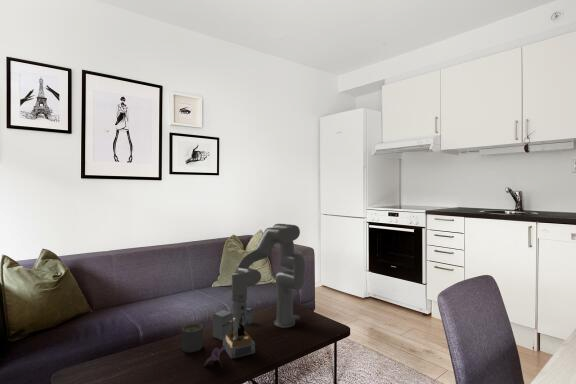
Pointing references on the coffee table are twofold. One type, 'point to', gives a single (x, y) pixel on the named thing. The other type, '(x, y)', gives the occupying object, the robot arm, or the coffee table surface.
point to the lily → (215, 355)
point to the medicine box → (249, 316)
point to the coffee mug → (192, 337)
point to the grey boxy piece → (238, 345)
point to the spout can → (236, 330)
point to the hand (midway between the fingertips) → (238, 332)
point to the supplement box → (222, 324)
